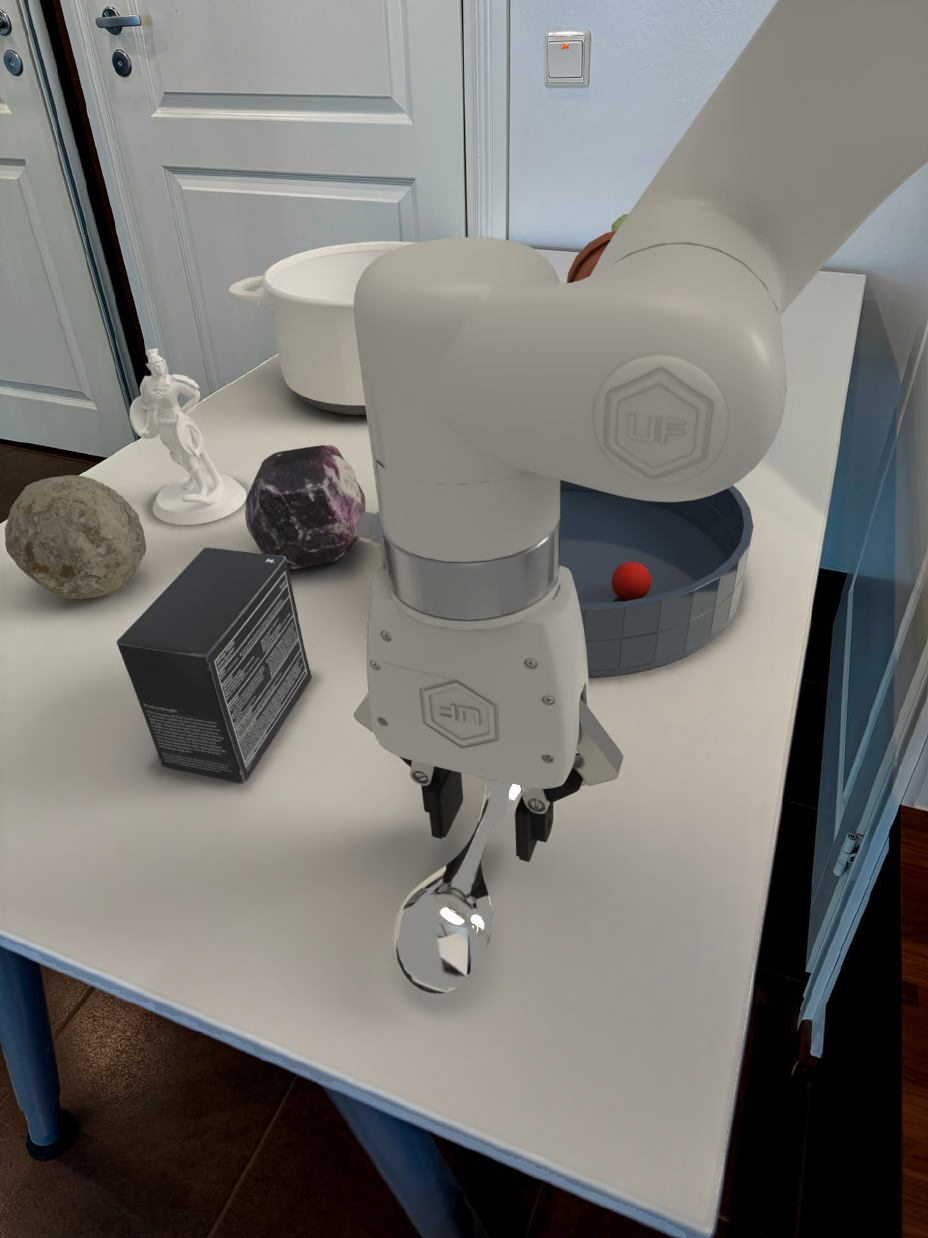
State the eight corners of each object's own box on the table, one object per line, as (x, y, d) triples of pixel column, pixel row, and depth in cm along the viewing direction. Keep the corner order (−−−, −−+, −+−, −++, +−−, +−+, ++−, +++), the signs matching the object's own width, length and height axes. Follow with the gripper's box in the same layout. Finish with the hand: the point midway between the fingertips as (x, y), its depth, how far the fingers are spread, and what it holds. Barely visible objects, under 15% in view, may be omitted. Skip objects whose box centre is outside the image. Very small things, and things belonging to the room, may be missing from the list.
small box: (233, 663, 64) (202, 541, 58) (315, 677, 63) (292, 553, 56) (154, 766, 56) (108, 638, 50) (246, 785, 55) (210, 655, 48)
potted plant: (690, 396, 103) (667, 281, 129) (700, 265, 93) (673, 169, 119) (556, 402, 105) (560, 288, 131) (552, 275, 95) (557, 178, 121)
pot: (531, 357, 110) (533, 242, 102) (498, 438, 92) (496, 306, 84) (285, 346, 117) (267, 237, 108) (208, 420, 99) (180, 295, 90)
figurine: (132, 513, 82) (85, 357, 73) (194, 472, 89) (157, 324, 80) (206, 532, 79) (166, 372, 70) (265, 488, 85) (235, 335, 76)
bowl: (756, 517, 78) (768, 455, 74) (716, 711, 58) (729, 641, 55) (477, 476, 86) (475, 419, 82) (359, 636, 66) (350, 570, 63)
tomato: (652, 590, 69) (656, 557, 67) (645, 612, 66) (649, 579, 65) (615, 583, 70) (617, 551, 68) (606, 604, 67) (608, 572, 66)
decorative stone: (178, 568, 75) (148, 461, 69) (119, 626, 68) (81, 515, 62) (76, 552, 77) (40, 448, 71) (11, 607, 71) (-36, 498, 65)
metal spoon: (493, 660, 54) (567, 671, 53) (496, 700, 57) (567, 712, 56) (374, 951, 40) (472, 977, 39) (384, 989, 43) (477, 1014, 41)
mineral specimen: (338, 585, 68) (277, 470, 64) (256, 593, 75) (197, 489, 71) (408, 525, 75) (357, 416, 71) (327, 537, 82) (277, 439, 78)
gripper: (259, 569, 38) (323, 844, 49) (651, 637, 32) (624, 928, 43) (338, 488, 43) (380, 751, 54) (684, 534, 38) (653, 815, 49)
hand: (489, 827), depth 49 cm, fingers closed on metal spoon, 4 cm apart
